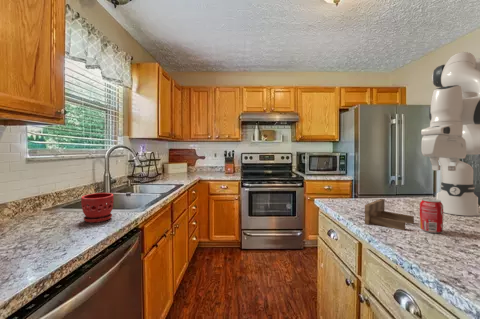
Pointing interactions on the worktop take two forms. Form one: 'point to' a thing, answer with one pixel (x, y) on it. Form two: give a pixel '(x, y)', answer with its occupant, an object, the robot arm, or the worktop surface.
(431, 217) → the soda can
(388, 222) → the bay
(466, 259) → the worktop surface
